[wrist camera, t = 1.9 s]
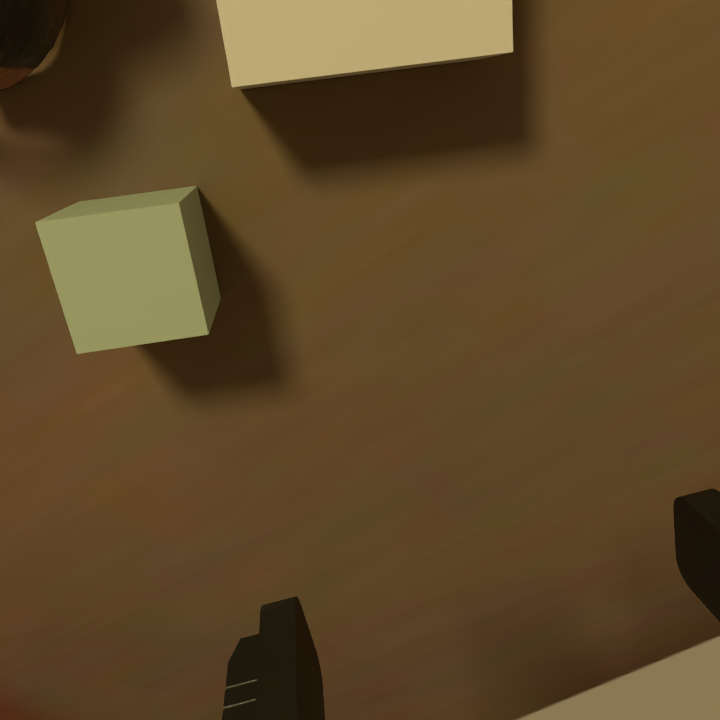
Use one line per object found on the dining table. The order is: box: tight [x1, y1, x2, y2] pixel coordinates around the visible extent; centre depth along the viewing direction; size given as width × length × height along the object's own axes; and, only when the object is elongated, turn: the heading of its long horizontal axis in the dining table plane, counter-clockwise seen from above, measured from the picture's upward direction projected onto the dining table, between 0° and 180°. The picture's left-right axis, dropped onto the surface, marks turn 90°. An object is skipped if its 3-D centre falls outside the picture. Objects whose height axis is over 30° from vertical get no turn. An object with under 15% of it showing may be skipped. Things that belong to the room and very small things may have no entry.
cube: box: [35, 186, 221, 354], centre depth 25 cm, size 5×5×5 cm
